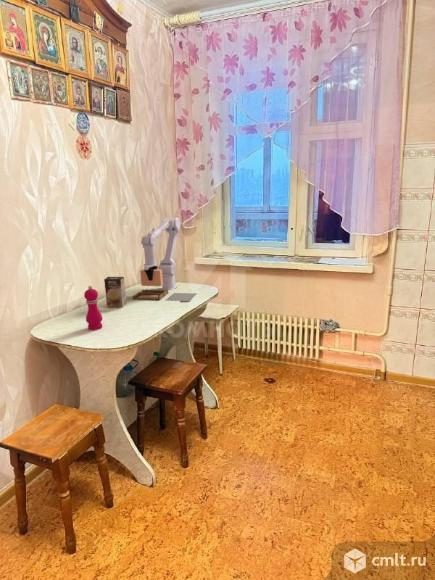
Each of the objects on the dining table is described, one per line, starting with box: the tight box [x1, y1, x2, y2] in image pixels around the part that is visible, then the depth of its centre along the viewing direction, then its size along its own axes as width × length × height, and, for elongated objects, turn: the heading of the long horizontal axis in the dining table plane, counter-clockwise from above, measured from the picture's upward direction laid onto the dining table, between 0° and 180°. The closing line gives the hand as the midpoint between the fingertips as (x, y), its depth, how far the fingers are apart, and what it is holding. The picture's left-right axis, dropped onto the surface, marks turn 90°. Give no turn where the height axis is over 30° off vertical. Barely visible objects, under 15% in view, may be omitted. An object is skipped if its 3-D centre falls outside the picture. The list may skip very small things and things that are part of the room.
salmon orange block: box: [139, 268, 163, 287], centre depth 229 cm, size 4×12×9 cm, turn 77°
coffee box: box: [104, 276, 127, 309], centre depth 212 cm, size 9×6×16 cm
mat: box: [165, 292, 198, 303], centre depth 226 cm, size 16×14×1 cm
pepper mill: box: [83, 285, 103, 331], centre depth 180 cm, size 7×7×20 cm
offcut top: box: [138, 295, 158, 298], centre depth 226 cm, size 4×10×1 cm, turn 84°
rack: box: [132, 289, 169, 301], centre depth 229 cm, size 14×16×2 cm
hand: (151, 279), depth 230 cm, fingers closed on salmon orange block, 3 cm apart
